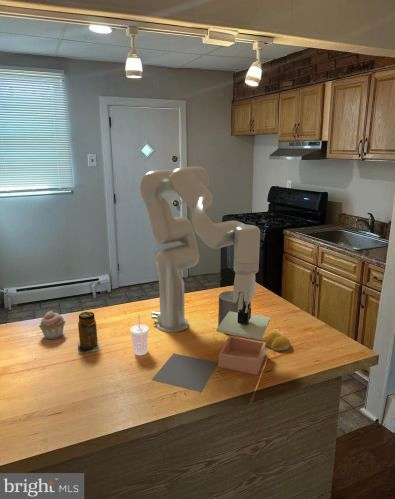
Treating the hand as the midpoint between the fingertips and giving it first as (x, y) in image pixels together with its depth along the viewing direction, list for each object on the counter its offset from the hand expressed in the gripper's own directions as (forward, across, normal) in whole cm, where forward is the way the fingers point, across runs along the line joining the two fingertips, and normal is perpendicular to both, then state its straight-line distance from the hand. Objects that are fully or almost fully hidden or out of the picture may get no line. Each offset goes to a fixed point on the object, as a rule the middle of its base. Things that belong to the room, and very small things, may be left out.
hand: (244, 320), depth 118 cm
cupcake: (+15, +8, -70) cm, 72 cm away
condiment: (+15, +10, -53) cm, 56 cm away
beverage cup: (+15, +7, -34) cm, 38 cm away
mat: (+15, +12, -15) cm, 24 cm away
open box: (+15, 0, 0) cm, 15 cm away
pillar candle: (+15, -21, -10) cm, 28 cm away
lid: (+2, 0, 0) cm, 2 cm away
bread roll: (+15, -15, +8) cm, 23 cm away
